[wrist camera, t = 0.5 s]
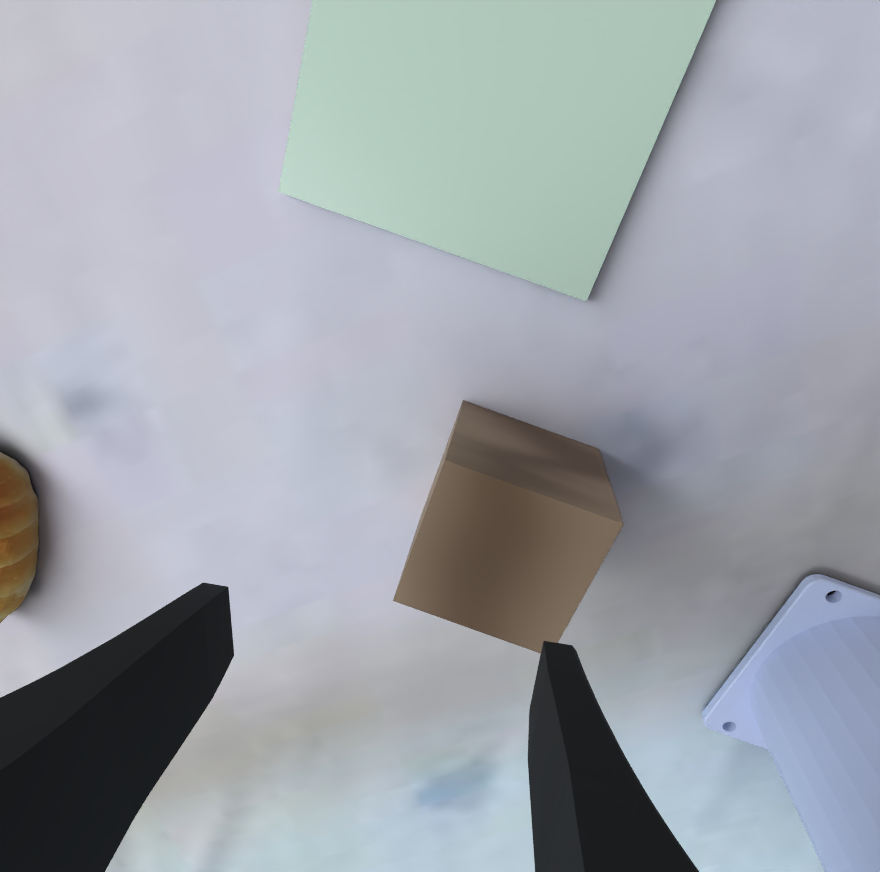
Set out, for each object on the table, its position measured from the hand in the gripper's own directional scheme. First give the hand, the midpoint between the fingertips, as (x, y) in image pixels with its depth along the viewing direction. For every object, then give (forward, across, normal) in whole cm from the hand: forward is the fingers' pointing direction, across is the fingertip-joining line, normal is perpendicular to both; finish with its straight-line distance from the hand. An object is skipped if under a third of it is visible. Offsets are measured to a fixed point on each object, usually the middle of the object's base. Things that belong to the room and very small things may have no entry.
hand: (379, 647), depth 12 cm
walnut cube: (+9, -2, 0) cm, 9 cm away
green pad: (+8, 0, -13) cm, 15 cm away
